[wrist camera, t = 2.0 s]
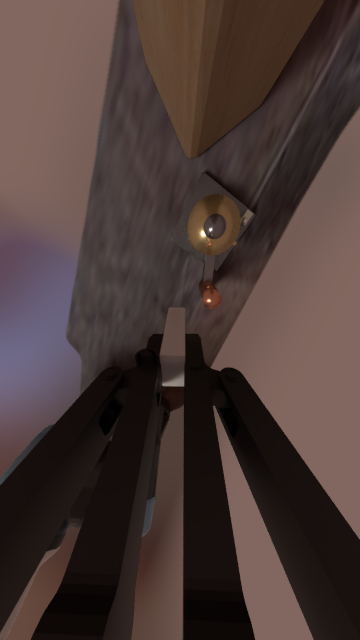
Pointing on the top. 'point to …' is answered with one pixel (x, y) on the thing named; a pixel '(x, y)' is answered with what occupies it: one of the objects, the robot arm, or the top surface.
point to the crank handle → (212, 237)
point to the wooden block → (217, 58)
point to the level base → (201, 190)
